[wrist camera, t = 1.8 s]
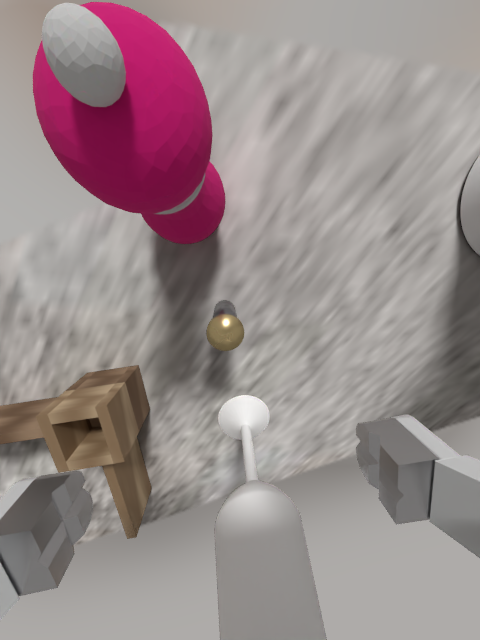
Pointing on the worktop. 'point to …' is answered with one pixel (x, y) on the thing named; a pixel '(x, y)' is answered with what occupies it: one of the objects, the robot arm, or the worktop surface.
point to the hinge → (93, 433)
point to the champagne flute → (261, 548)
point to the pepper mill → (128, 117)
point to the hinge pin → (225, 327)
